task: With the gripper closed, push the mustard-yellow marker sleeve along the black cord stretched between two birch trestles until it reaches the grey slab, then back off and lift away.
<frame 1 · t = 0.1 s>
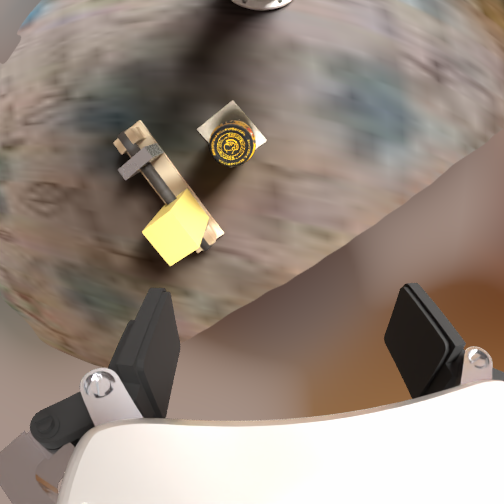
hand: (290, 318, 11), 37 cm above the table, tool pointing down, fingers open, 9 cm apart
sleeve: (178, 223, 41), point 7 cm above the table, slide at 0.0 cm
grey slab: (149, 156, 43), resting on cord rig
condiment: (232, 134, 42), on the table
cord rig: (170, 184, 45), on the table
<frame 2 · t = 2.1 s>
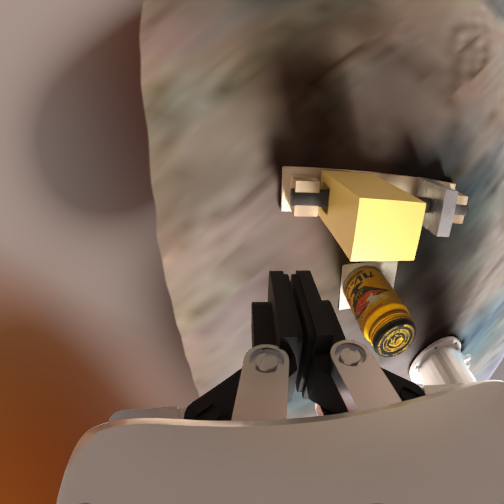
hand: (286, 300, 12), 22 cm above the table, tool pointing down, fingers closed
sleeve: (364, 209, 25), point 7 cm above the table, slide at 0.0 cm
grey slab: (417, 196, 32), resting on cord rig
condiment: (367, 283, 38), on the table
cord rig: (378, 192, 32), on the table
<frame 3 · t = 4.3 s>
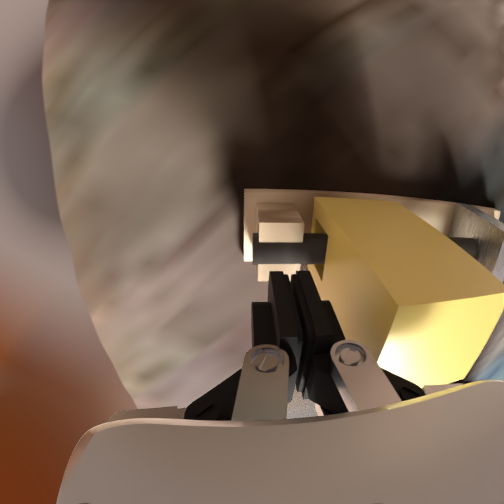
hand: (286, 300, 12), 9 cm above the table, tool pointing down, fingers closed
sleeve: (387, 277, 14), point 7 cm above the table, slide at 0.4 cm, touching gripper
grey slab: (451, 229, 20), resting on cord rig
cord rig: (398, 227, 20), on the table
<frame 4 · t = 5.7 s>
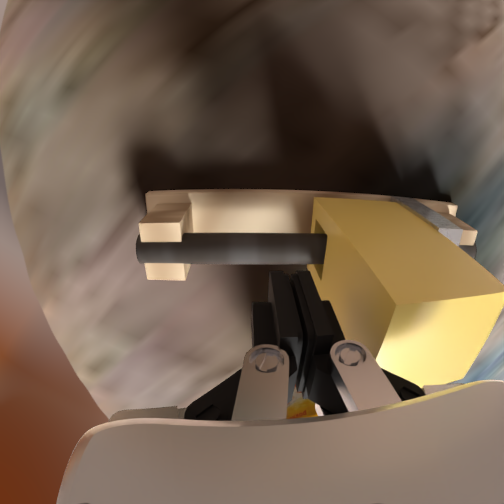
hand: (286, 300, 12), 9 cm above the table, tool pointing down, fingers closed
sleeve: (386, 277, 14), point 7 cm above the table, slide at 7.0 cm, touching grey slab, gripper
grey slab: (391, 227, 20), resting on cord rig
condiment: (310, 351, 26), on the table
cord rig: (319, 224, 20), on the table
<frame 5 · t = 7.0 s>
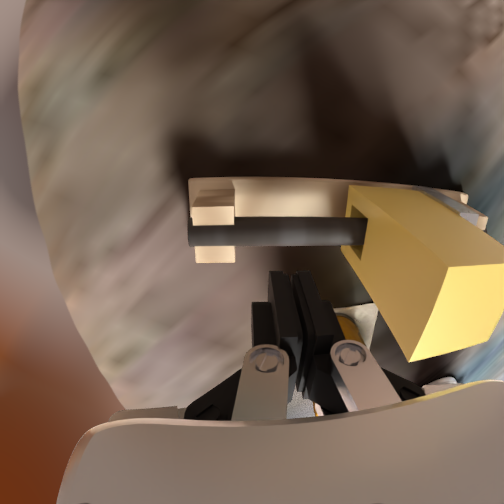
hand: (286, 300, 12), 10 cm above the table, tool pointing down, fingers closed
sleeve: (419, 254, 15), point 7 cm above the table, slide at 7.0 cm, touching grey slab
grey slab: (411, 214, 22), resting on cord rig
condiment: (335, 333, 27), on the table
cord rig: (349, 211, 21), on the table
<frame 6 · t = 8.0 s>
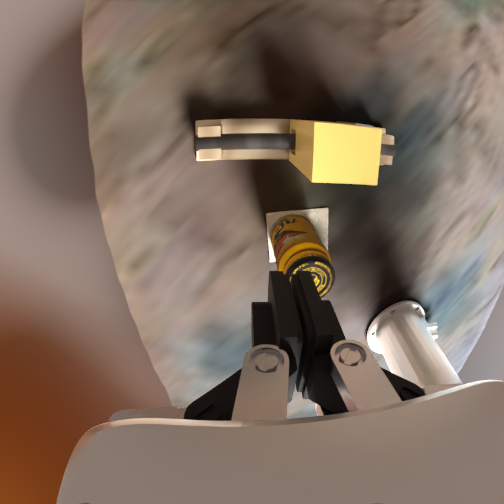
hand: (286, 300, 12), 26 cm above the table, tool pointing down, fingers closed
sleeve: (328, 146, 27), point 7 cm above the table, slide at 7.0 cm, touching grey slab
condiment: (298, 234, 39), on the table
cord rig: (295, 139, 33), on the table
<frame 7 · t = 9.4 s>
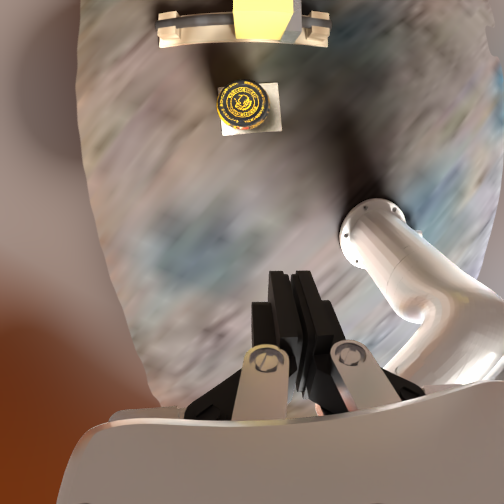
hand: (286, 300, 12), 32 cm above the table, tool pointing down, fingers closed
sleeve: (260, 10, 24), point 7 cm above the table, slide at 7.0 cm, touching grey slab
grey slab: (285, 28, 31), resting on cord rig
condiment: (249, 108, 37), on the table
cord rig: (243, 27, 31), on the table
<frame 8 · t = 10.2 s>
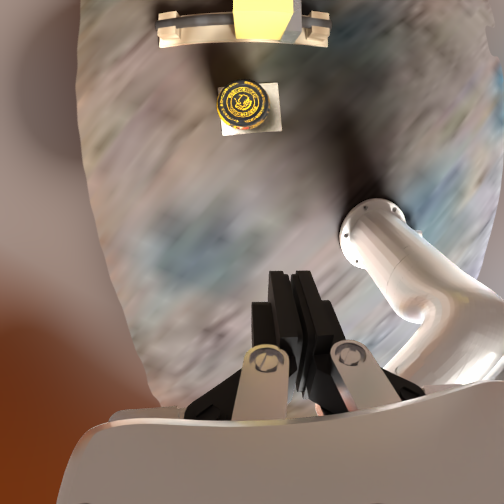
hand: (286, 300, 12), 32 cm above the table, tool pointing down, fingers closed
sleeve: (260, 10, 24), point 7 cm above the table, slide at 7.0 cm, touching grey slab
grey slab: (285, 28, 31), resting on cord rig
condiment: (249, 108, 37), on the table
cord rig: (243, 27, 31), on the table
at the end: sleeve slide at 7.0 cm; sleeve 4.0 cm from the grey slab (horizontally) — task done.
